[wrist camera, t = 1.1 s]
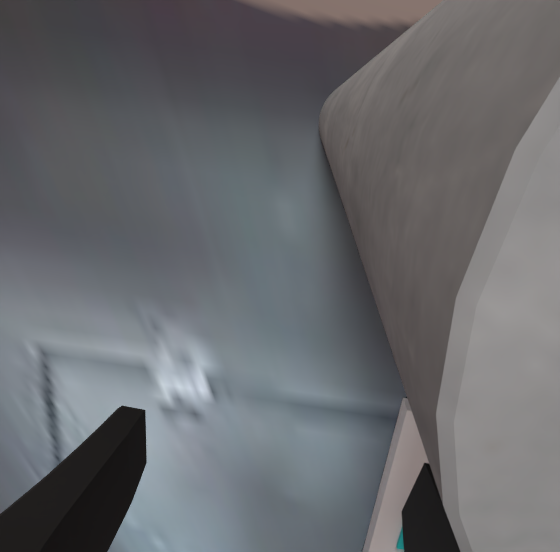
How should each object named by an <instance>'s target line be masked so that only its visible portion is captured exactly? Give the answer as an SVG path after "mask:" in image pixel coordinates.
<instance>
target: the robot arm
mask: <svg viewBox="0 0 560 552" xmlns="http://www.w3.org/2000/svg"><path fill="white" fill-rule="evenodd" d="M145 465H146V422H145V410H142V409H137V408H132V407H126V406H121V407H119V408H118V409H117V410H116V411H115V412H114V413H113V414H112V415H111V416H110V417H109V418H108V419H107V420H106V421H105V422H104V423H103V424H102V425H101V426H100V427H99V428H98V429H97V430H96V431H95V432H93V433H92V434H91V435H90V436H89V437H88V438H87V439H86V440H85V441H84V442H83V443H82V444H81V445H80V446H79V447H78V448H77V449H76V450H74V451H73V452H72V453H71V454H70V455H69V456H68V457H67V458H66V459H64V460H63V461H62V462H61V463H60V464H59V465H58V466H57V467H56V468H54V469H53V470H52V471H51V472H50V473H49V474H48V475H47V476H45V477H44V478H43V479H42V480H41V481H40V482H39V483H37V484H36V485H35V486H34V487H33V488H31V489H30V490H29V491H28V492H26V493H25V494H24V495H23V496H22V497H20V498H19V499H18V500H17V501H16V502H14V503H13V504H12V505H11V506H10V507H8V508H7V509H6V510H5V511H3V512H2V513H1V514H0V552H107V551H108V549H109V547H110V545H111V543H112V541H113V539H114V537H115V535H116V533H117V531H118V529H119V527H120V525H121V523H122V521H123V519H124V517H125V515H126V513H127V511H128V509H129V507H130V505H131V502H132V500H133V497H134V495H135V492H136V489H137V487H138V484H139V482H140V479H141V476H142V473H143V471H144V468H145ZM402 529H403V544H404V552H460V549H459V546H458V544H457V541H456V538H455V536H454V533H453V530H452V528H451V525H450V522H449V520H448V517H447V514H446V512H445V509H444V506H443V503H442V500H441V497H440V494H439V491H438V488H437V485H436V482H435V479H434V476H433V473H432V470H431V467H430V464H429V463H424V464H423V467H422V469H421V471H420V473H419V475H418V477H417V479H416V482H415V484H414V486H413V488H412V490H411V492H410V494H409V496H408V499H407V501H406V503H405V505H404V507H403V509H402Z"/></svg>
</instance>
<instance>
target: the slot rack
mask: <svg viewBox="0 0 560 552" xmlns="http://www.w3.org/2000/svg"><path fill="white" fill-rule="evenodd" d="M424 463H429V461H428V458H427V455H426V452H425V449H424V446H423V443H422V440H421V437H420V434H419V431H418V428H417V425H416V422H415V419H414V416H413V413H412V410H411V407H410V404H409V401H408V398H403V399H402V403H401V407H400V411H399V415H398V418H397V422H396V426H395V430H394V434H393V437H392V441H391V445H390V449H389V453H388V456H387V460H386V464H385V468H384V472H383V475H382V479H381V483H380V487H379V491H378V494H377V498H376V502H375V506H374V509H373V513H372V517H371V521H370V525H369V528H368V532H367V536H366V540H365V544H364V547H363V551H362V552H404V544H403V529H402V509H403V507H404V505H405V503H406V501H407V499H408V496H409V494H410V492H411V490H412V488H413V486H414V484H415V482H416V479H417V477H418V475H419V473H420V471H421V469H422V467H423V464H424Z"/></svg>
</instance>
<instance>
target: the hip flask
mask: <svg viewBox="0 0 560 552" xmlns="http://www.w3.org/2000/svg"><path fill="white" fill-rule="evenodd" d="M319 133H320V137H321V140H322V143H323V146H324V149H325V152H326V155H327V158H328V161H329V164H330V167H331V170H332V173H333V176H334V179H335V182H336V185H337V188H338V191H339V194H340V197H341V200H342V203H343V206H344V209H345V212H346V215H347V218H348V221H349V224H350V227H351V230H352V233H353V236H354V239H355V242H356V245H357V248H358V251H359V254H360V257H361V260H362V263H363V266H364V269H365V272H366V275H367V278H368V281H369V284H370V287H371V290H372V293H373V296H374V299H375V302H376V305H377V308H378V311H379V314H380V317H381V320H382V323H383V326H384V329H385V332H386V335H387V338H388V341H389V344H390V347H391V350H392V353H393V356H394V359H395V362H396V365H397V368H398V371H399V374H400V377H401V380H402V383H403V386H404V389H405V392H406V395H407V398H408V401H409V404H410V407H411V410H412V413H413V416H414V419H415V422H416V425H417V428H418V431H419V434H420V437H421V440H422V443H423V446H424V449H425V452H426V455H427V458H428V461H429V464H430V467H431V470H432V473H433V476H434V479H435V482H436V485H437V488H438V491H439V494H440V497H441V500H442V503H443V506H444V509H445V512H446V514H447V517H448V520H449V522H450V525H451V528H452V530H453V533H454V536H455V538H456V541H457V544H458V546H459V549H460V552H560V0H443V1H442V2H441V3H440V4H438V5H437V6H436V7H435V8H434V9H432V10H431V11H430V12H429V13H428V14H426V15H425V16H424V17H423V18H422V19H420V20H419V21H418V22H417V23H415V24H414V25H413V26H412V27H411V28H409V29H408V30H407V31H406V32H405V33H403V34H402V35H401V36H400V37H399V38H397V39H396V40H395V41H394V42H393V43H391V44H390V45H389V46H388V47H387V48H385V49H384V50H383V51H382V52H381V53H379V54H378V55H377V56H376V57H374V58H373V59H372V60H371V61H370V62H368V63H367V64H366V65H365V66H364V67H362V68H361V69H360V70H359V71H358V72H356V73H355V74H354V75H353V76H352V77H350V78H349V79H348V80H347V81H346V82H344V83H343V84H342V85H341V86H340V87H338V88H337V89H336V90H335V91H334V92H333V93H332V94H331V95H330V96H329V97H328V98H327V100H326V101H325V103H324V105H323V107H322V110H321V112H320V117H319Z"/></svg>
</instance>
